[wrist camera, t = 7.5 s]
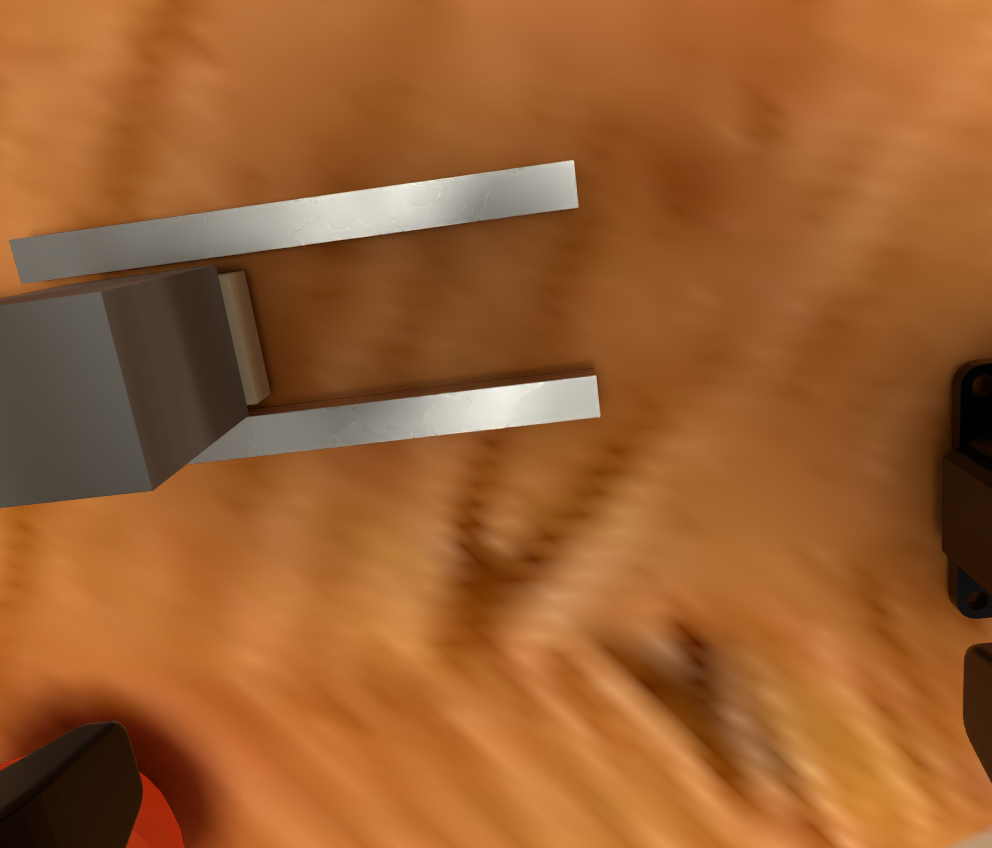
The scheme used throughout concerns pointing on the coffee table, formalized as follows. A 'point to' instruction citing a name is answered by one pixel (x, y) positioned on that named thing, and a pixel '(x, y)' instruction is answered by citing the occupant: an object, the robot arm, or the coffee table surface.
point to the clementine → (149, 819)
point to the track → (333, 222)
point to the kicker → (122, 381)
